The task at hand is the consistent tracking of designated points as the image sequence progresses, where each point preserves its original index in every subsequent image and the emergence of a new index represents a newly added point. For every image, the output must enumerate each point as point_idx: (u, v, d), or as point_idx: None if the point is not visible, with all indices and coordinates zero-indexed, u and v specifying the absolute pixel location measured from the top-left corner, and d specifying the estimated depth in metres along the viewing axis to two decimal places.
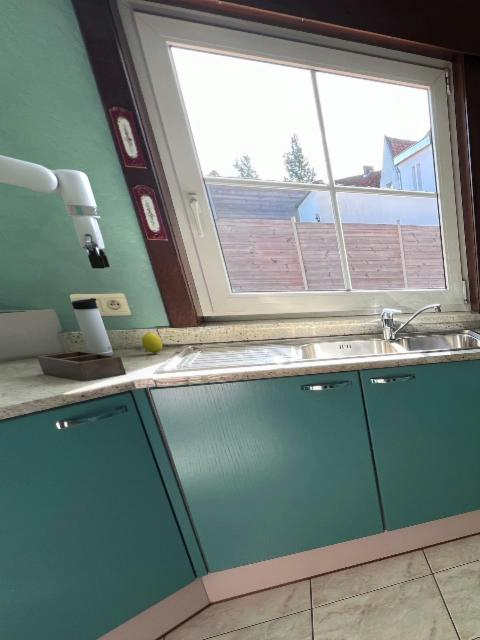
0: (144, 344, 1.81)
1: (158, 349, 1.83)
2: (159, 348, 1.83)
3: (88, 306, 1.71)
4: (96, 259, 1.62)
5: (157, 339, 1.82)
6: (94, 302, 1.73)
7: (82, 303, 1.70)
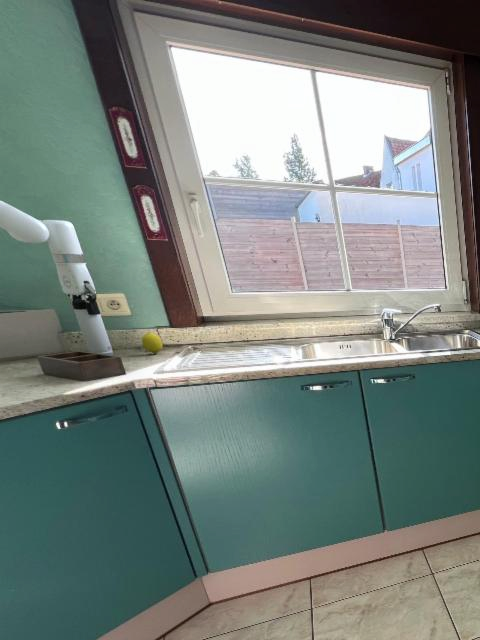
0: (144, 344, 1.81)
1: (158, 349, 1.83)
2: (159, 348, 1.83)
3: None
4: (94, 306, 1.72)
5: (157, 339, 1.82)
6: None
7: (82, 303, 1.70)
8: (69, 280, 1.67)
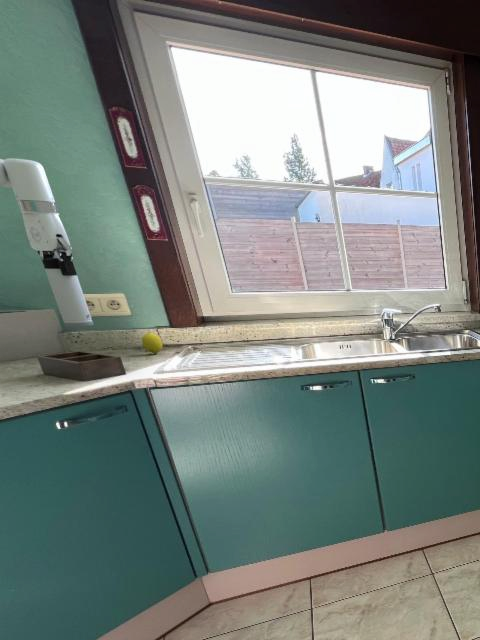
0: (144, 344, 1.81)
1: (158, 349, 1.83)
2: (159, 348, 1.83)
3: None
4: (69, 265, 1.45)
5: (157, 339, 1.82)
6: None
7: (55, 261, 1.43)
8: (38, 233, 1.40)
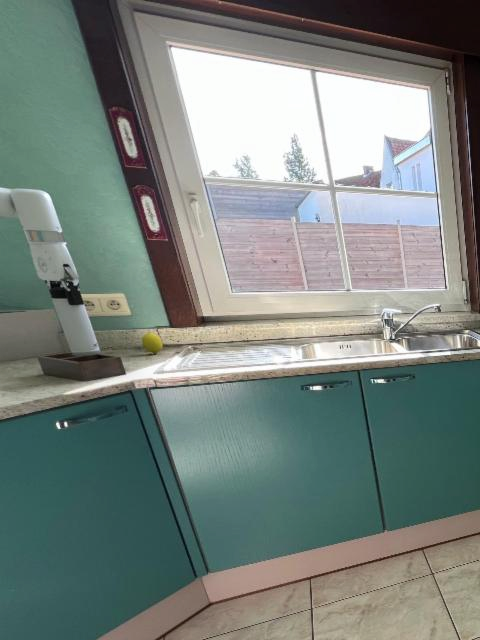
0: (144, 344, 1.81)
1: (158, 349, 1.83)
2: (159, 348, 1.83)
3: None
4: (76, 295, 1.43)
5: (157, 339, 1.82)
6: None
7: (62, 291, 1.41)
8: (45, 263, 1.38)
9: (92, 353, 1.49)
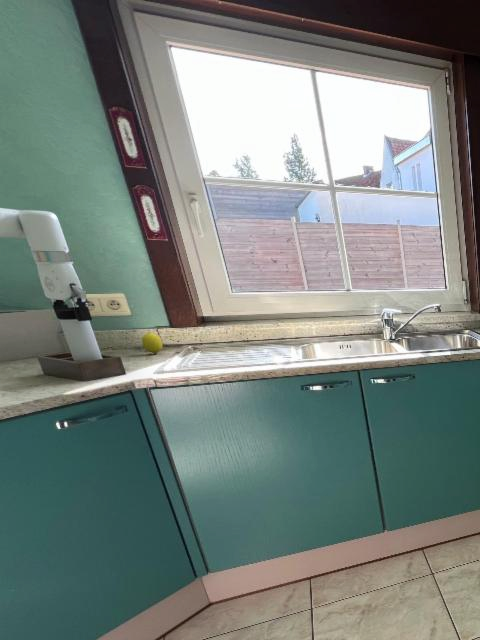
0: (144, 344, 1.81)
1: (158, 349, 1.83)
2: (159, 348, 1.83)
3: None
4: (84, 311, 1.44)
5: (157, 339, 1.82)
6: None
7: (69, 312, 1.43)
8: (52, 282, 1.39)
9: None
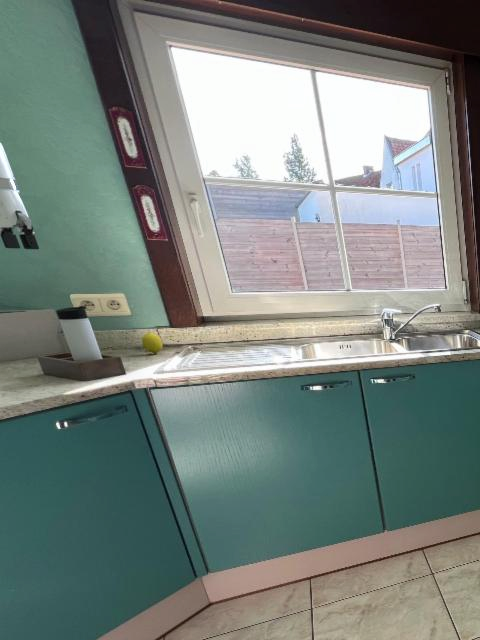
0: (144, 344, 1.81)
1: (158, 349, 1.83)
2: (159, 348, 1.83)
3: (76, 315, 1.44)
4: (31, 239, 1.47)
5: (157, 339, 1.82)
6: (83, 311, 1.46)
7: (69, 312, 1.43)
8: None
9: None
